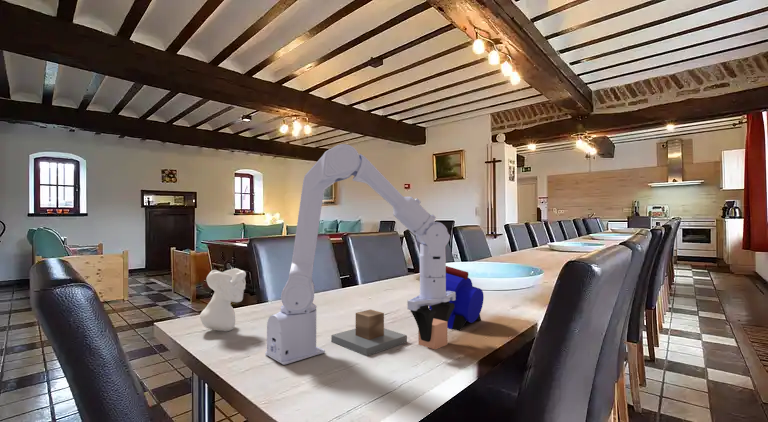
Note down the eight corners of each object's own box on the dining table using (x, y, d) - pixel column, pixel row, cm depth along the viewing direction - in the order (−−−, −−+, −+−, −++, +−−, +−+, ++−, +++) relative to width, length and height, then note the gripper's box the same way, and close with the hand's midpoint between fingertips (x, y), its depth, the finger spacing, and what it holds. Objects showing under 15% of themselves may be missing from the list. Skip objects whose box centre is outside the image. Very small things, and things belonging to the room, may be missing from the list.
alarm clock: (448, 314, 106) (447, 262, 106) (488, 322, 98) (488, 266, 98) (425, 323, 96) (425, 267, 96) (468, 332, 88) (467, 271, 89)
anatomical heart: (220, 323, 96) (220, 266, 97) (257, 327, 93) (257, 268, 93) (191, 334, 87) (192, 271, 87) (231, 338, 84) (231, 273, 84)
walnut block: (368, 340, 78) (368, 316, 78) (355, 335, 82) (355, 312, 82) (383, 335, 81) (383, 313, 82) (370, 331, 85) (370, 309, 85)
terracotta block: (434, 349, 77) (434, 325, 77) (418, 344, 80) (418, 321, 80) (447, 344, 80) (447, 321, 80) (431, 339, 83) (431, 317, 83)
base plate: (366, 356, 73) (366, 348, 73) (331, 341, 82) (331, 335, 82) (406, 342, 81) (406, 335, 81) (371, 330, 90) (371, 324, 90)
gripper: (425, 281, 72) (426, 350, 72) (466, 274, 82) (467, 334, 82) (400, 277, 77) (400, 342, 77) (441, 271, 88) (441, 328, 87)
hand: (432, 337), depth 80 cm, fingers closed on terracotta block, 4 cm apart
